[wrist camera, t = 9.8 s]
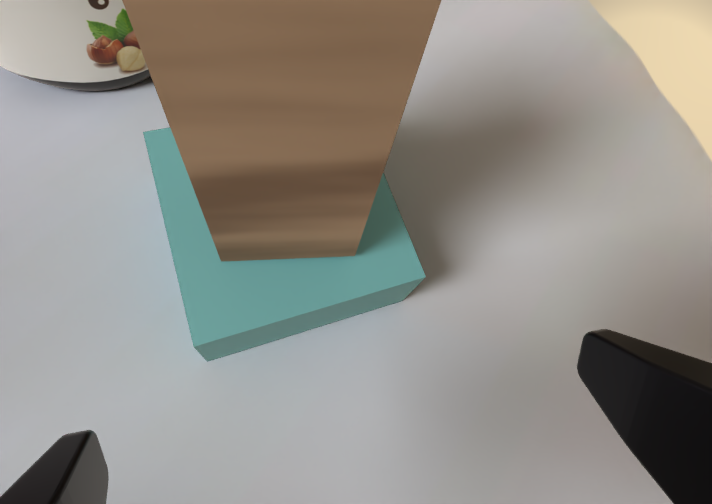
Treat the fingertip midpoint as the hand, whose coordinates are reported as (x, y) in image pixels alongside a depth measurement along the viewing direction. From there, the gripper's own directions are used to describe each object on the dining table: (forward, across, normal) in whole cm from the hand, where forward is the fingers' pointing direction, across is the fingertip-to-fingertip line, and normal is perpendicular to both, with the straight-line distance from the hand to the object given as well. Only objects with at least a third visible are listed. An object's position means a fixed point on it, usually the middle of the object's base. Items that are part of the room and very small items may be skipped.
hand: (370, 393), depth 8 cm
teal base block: (+14, 0, +3) cm, 15 cm away
